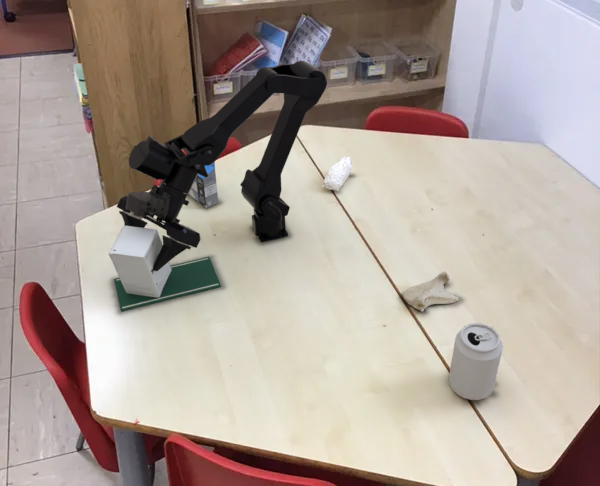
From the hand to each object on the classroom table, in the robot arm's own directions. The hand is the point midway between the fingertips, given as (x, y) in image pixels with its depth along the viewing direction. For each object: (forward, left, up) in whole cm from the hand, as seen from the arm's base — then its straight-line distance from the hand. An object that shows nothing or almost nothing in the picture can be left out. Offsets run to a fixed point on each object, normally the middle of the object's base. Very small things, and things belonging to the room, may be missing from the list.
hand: (139, 261), depth 130 cm
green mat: (-5, -1, -8) cm, 9 cm away
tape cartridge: (-19, -29, -8) cm, 35 cm away
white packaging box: (-1, -1, -7) cm, 7 cm away
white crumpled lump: (-38, -20, -5) cm, 43 cm away
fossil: (-53, +22, -8) cm, 58 cm away
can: (-48, +44, -8) cm, 65 cm away
